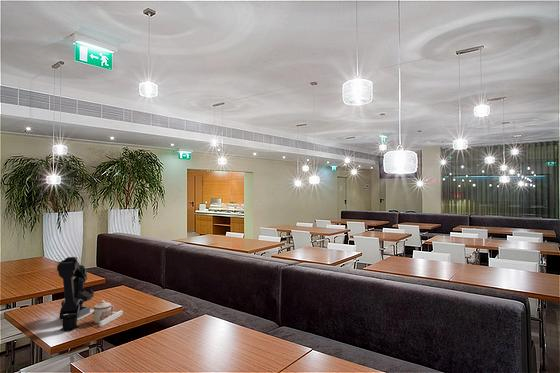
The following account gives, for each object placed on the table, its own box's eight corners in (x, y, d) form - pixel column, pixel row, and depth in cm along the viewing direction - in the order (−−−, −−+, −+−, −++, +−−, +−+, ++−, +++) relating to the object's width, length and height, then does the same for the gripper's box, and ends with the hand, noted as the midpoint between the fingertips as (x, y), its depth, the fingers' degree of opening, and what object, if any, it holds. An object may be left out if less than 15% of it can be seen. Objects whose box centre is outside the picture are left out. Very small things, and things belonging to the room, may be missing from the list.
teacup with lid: (100, 324, 189) (100, 304, 189) (90, 321, 193) (90, 301, 193) (118, 317, 200) (118, 298, 200) (108, 314, 204) (108, 295, 204)
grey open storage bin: (101, 326, 187) (101, 318, 187) (61, 322, 192) (61, 313, 192) (122, 314, 204) (122, 306, 204) (85, 310, 210) (85, 303, 210)
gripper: (76, 293, 190) (76, 320, 190) (100, 283, 208) (100, 308, 208) (60, 291, 192) (60, 318, 192) (85, 282, 210) (85, 307, 210)
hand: (77, 313), depth 200 cm, fingers closed, pressing on grey open storage bin
